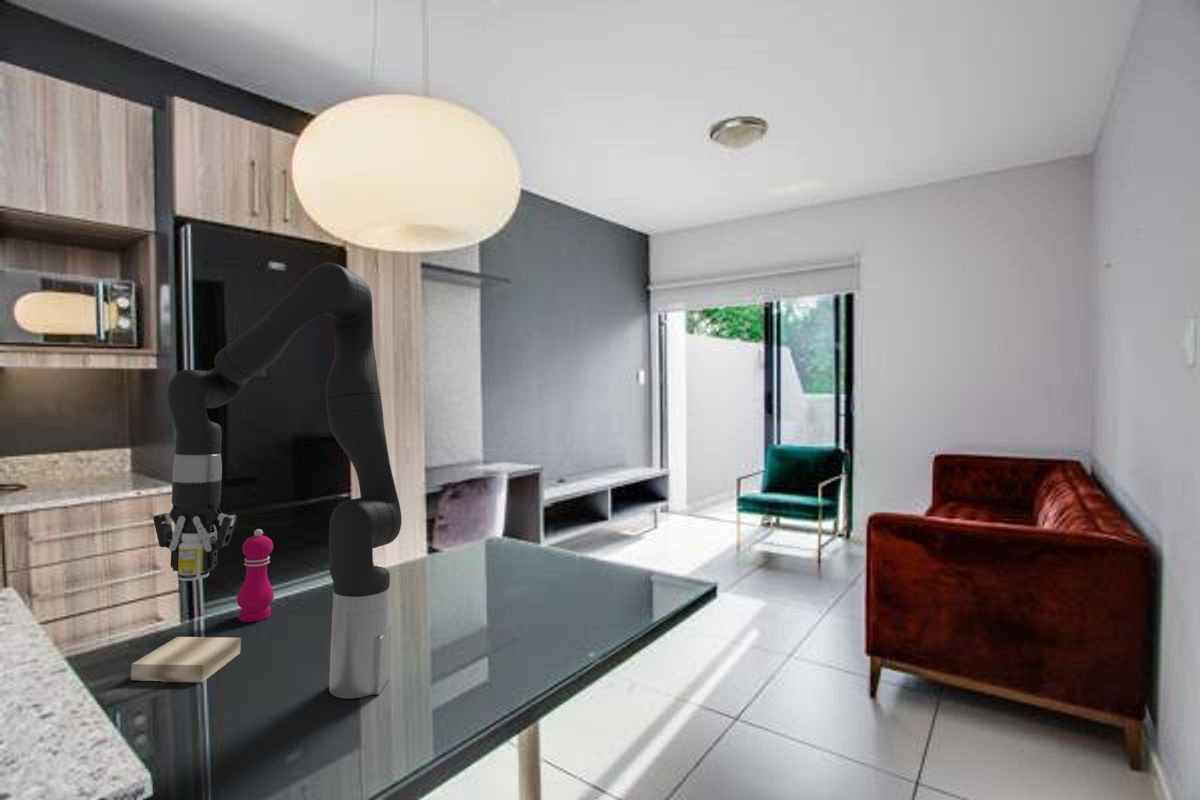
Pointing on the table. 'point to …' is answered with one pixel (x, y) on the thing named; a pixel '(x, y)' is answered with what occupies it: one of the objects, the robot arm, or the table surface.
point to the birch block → (186, 659)
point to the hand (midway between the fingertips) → (193, 569)
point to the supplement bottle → (191, 558)
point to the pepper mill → (256, 579)
